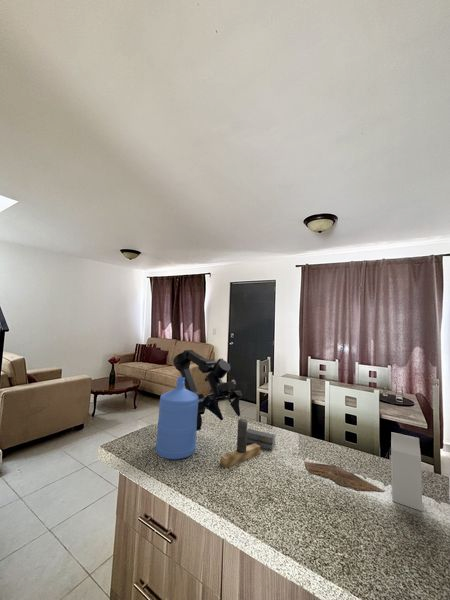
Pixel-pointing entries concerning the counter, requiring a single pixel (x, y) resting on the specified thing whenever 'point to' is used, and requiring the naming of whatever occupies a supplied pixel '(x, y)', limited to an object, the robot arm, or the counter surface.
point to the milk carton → (406, 470)
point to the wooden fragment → (341, 476)
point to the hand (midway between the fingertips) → (231, 417)
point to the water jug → (177, 423)
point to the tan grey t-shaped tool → (240, 447)
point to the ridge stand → (261, 439)
